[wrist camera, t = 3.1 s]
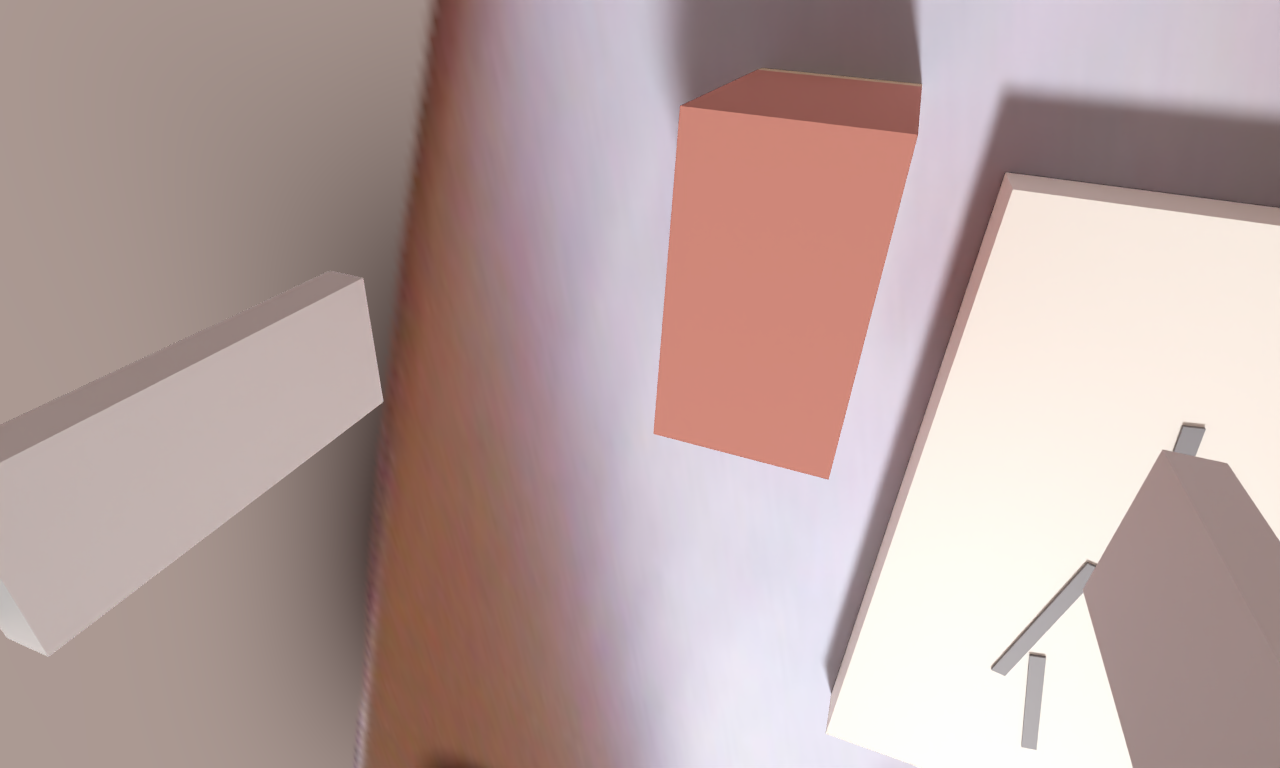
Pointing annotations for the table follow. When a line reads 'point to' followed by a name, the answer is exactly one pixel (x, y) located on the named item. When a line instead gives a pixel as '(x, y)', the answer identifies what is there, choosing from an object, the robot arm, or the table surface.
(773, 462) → the block
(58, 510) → the robot arm
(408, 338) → the table surface
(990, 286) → the board
